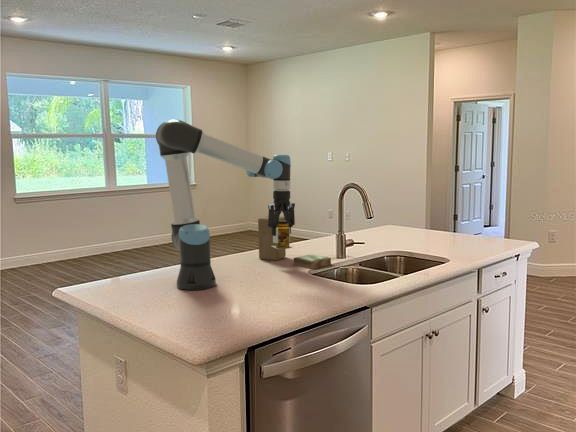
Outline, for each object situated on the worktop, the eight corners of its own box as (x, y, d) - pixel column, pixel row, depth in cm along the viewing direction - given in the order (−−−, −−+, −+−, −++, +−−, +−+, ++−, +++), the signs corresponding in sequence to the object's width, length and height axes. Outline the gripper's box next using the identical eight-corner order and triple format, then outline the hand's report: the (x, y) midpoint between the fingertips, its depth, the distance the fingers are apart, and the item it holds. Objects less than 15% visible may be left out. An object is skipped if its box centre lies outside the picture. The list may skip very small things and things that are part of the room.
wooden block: (258, 259, 247) (257, 218, 244) (268, 255, 255) (267, 215, 253) (276, 261, 242) (275, 219, 239) (286, 257, 251) (285, 216, 248)
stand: (311, 268, 226) (311, 261, 226) (293, 264, 235) (293, 257, 235) (330, 264, 234) (330, 257, 233) (313, 260, 243) (312, 253, 242)
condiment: (279, 249, 223) (279, 222, 222) (270, 246, 231) (270, 219, 229) (293, 248, 227) (294, 221, 225) (284, 245, 234) (284, 219, 233)
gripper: (269, 191, 216) (269, 245, 219) (303, 189, 229) (303, 241, 231) (259, 190, 222) (259, 243, 225) (292, 188, 234) (292, 238, 237)
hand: (281, 242), depth 228 cm, fingers closed on condiment, 6 cm apart
